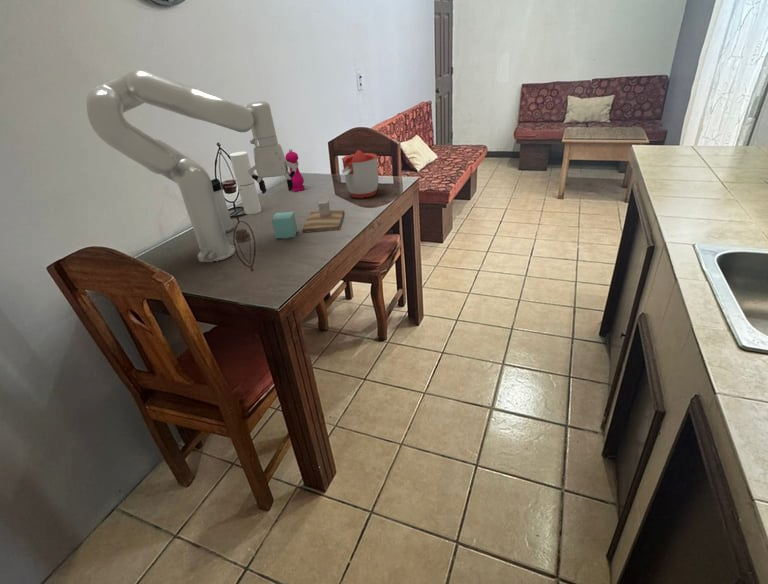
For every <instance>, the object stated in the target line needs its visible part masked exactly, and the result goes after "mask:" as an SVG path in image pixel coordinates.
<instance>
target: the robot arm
mask: <svg viewBox="0 0 768 584" xmlns="http://www.w3.org/2000/svg"><path fill="white" fill-rule="evenodd" d="M85 101H86V102H85V103H86V112H87V113H86V114H87V118H88V121H89V123H90V126H91V128H92V129H93V131H94V133H95V134H96V135H97V136H98V137H99V138H100V139H101V140H102V141H103V142H104V143H106V144H107V145H108V146H110V147H111V148H113V149H115V150H117V151H118V152H120V153H121V154H123V155H125V156H126V157H127V158H128V159H131V160H132V161H134V162H136V163H138V164H140V165H141V166H142V167H144V168H145V169H147V170H149V171H150V172H152V173H154V174H157V175H161V176H163V177H165V178H167V179H168V180H170V181H172V182H174V183H175V184H177V185H178V187H179V188H178V189H179V190H180V193H181V196H182V199H183V200H182V201H183V203H184V207H185V209H186V212H187V215H188V218H189V220H190V224H191V226H192V229H193V233H194V235H195V238H196V241H197V244H198V247H199V250H200V251H199V252H198V254H197V259H198V261H199V262H200V263H214V262H213V261H216V262H219V260H220V261H223V260H225V259H228V258H230V257H231V256H233V255H234V254H235V252H236V247H235V246H234V245H232V244H230V243H229V241H228V237H227V233H225V230H224V226H223V223H222V220H221V216H220V213H219V210H218V207H217V203H216V200H215V196H214V192H213V187H212V183H211V180H212V179H211V177H210V175H209V173H208V172H207V170H206V169H205V168H203V166H202V165H200V164H199V163H197V162H196V161H195V160H193V159H191V158H190V157H188V156H187V155H185V154H184V153H183V152H180V151H179V150H177V149H176V148H174V147H172V146H171V145H170V144H168V143H166V142H165V141H162V140H160V139H156V138H153V137H151V136H149V135H148V134H146V133H145V132H144V131H142V130H141V129H139V128H138V127H136V126H134V125H132V124H131V123H130V122H129V121H128V120H127V119H126V118H125V116H124V114H125V112H129V111H130V110H133V109H134V108H137V107H138V106H141V105H143V104H147V105H151V106H154V107H157V108H159V109H160V108H161V109H164V110H166V111H169V112H172V113H175V114H178V115H181V116H185V117H188V118H191V119H193V120H198V121H203V122H208V123H210V124H212V125H213V124H214V125H216V126H220V127H222V128H226V129H229V130H232V131H234V132H238V133H247V132H249V131H251V132H252V139H250V140H249V142H250V144H251V145H253V146H254V147H253V158H254V163H255V165H253V166H251V169H249V170H248V173H249V174H250V175H251V176H252V178H253V179H254V181H256V183H257V184H258V186H259V189H260V191H261V193H262V195H264V194H265V193H266V192H267V187H266V183H265V180H263V179H264V178H265V179H266V178H275V177H282V176H283V177H285V178H286V184H287V189H288V191H289V192H292V189H293V181H292V177H293V176H294V174H295V173H296V169H297V165H295V164H293V163H290V162H287V161H286V158H285V156H286V155H285V154H284V153H285V152H284V151H283V148H282V146H281V144H280V143H279V142H278V138H277V133H276V129H275V124H274V118H273V115H272V109H271V106H270V104H269V103H268V102H267V101H254V102H249V103H245V104H237V103H234V102H231V101H228V100H225V99H222V98H219V97H217V96H215V95H212V94H210V93H206V92H205V91H202V90H201V89H198V88H196V87H193V86H190V85H188V84H184V83H182V82H179V81H177V80H174V79H171V78H168V77H165V76H162V75H161V74H158V73H154V72H152V71H149V70H145V69H139V68H138V69H133V70H131V71H129V72H127V73H125V74H123V75H121V76H119V77H116V78H114V79H112V80H109V81H107V82H105V83H102V84H100V85H97V86H94V87H93V88H91V89H90V90H89V91H88V93H87V95H86V100H85ZM289 167H291V168H292V172H291V173H290V171H289ZM255 171H256V173H255Z"/></svg>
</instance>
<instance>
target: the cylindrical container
mask: <svg viewBox="0 0 768 584" xmlns="http://www.w3.org/2000/svg"><path fill="white" fill-rule="evenodd" d="M249 158H250V157H249V154H248V152H247V151H236V152H232V153H230V154H229V159H230V162H231V166H232V169H233V170H232V171H233V173H234V176H235V177H234V178H235V180H236V185H237V188H238V192H239V196H240V200H241V203H242V208H243V211H244V214H245V215H246V214H247V215H255V214H258V213H260V212H261V211H262V207H261V204H260V200H259V199H260V198H259V195H258V190H257V186H256V182H255V180H254V179H253V178H252V176H251V175H250V174H249V173H248V170H249V169H251V168H252V166H251V163H250V159H249Z"/></svg>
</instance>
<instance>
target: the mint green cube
mask: <svg viewBox="0 0 768 584" xmlns="http://www.w3.org/2000/svg"><path fill="white" fill-rule="evenodd" d="M271 223H272V227H273V232H274V235H275V239H276V240H278V239H277V238H282V239H290V238H289V237H294V236H296V235H295V234H297V233H298V231H297V230H298V224H297V221H296V215H295V211H285V212H276V213H275V214H274V216H273V217H272V218H271ZM296 232H297V233H296ZM294 238H295V237H294Z"/></svg>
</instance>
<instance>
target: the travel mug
mask: <svg viewBox="0 0 768 584" xmlns="http://www.w3.org/2000/svg"><path fill="white" fill-rule="evenodd" d="M211 183H212V187H213V192H214V196H215V200H216V203H217V207H218V210H219V213H220V216H221V220H222V223H223V226H224V230H225V233H226V234H229V233H230V232H232V231H233V230H234V226H233V225H234V224H233V222H232V219H231V216H230V212H229V208H228V205H227V201H226V198H225V195H224V189H223V187H222V185H221V181H220V179H219V178H213V179H211Z"/></svg>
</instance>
